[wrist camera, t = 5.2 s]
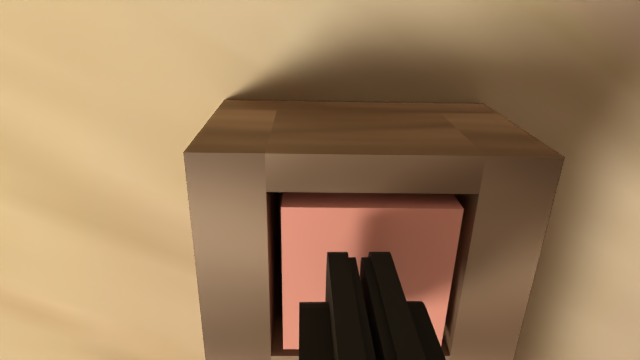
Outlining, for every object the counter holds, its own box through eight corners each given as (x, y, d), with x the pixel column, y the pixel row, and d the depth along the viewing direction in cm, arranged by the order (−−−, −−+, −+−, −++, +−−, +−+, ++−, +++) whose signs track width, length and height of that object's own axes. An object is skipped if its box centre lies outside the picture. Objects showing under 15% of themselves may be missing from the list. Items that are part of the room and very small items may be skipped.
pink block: (287, 156, 16) (280, 207, 12) (427, 158, 16) (463, 208, 12) (288, 274, 18) (283, 349, 14) (413, 275, 18) (440, 349, 14)
